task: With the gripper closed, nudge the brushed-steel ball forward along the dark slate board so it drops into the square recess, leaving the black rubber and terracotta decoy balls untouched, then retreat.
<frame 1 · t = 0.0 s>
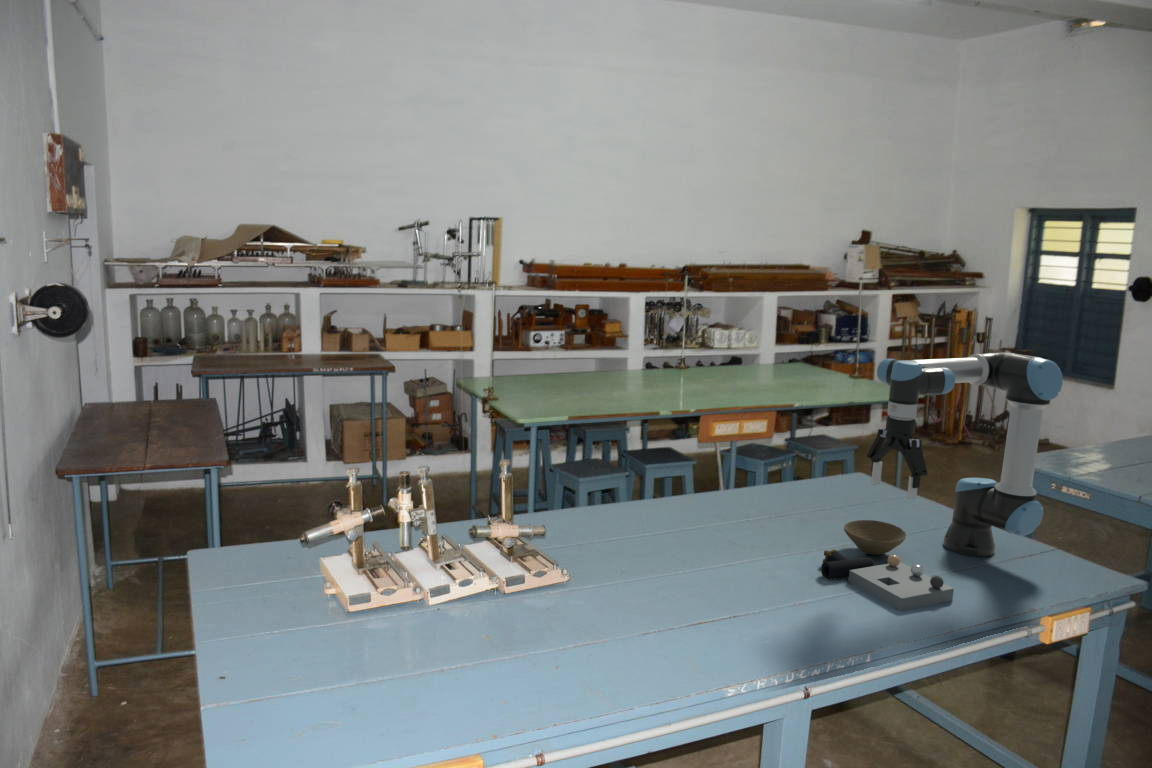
hand: (893, 491, 240), 28 cm above the table, fingers open, 13 cm apart
steel ball: (916, 576, 243), point 3 cm above the table, touching slate board
pipe connector: (839, 572, 254), on the table
slate board: (899, 590, 242), on the table
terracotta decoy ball: (893, 566, 250), point 3 cm above the table, touching slate board
bowl: (872, 553, 270), on the table
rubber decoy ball: (936, 587, 236), point 3 cm above the table, touching slate board
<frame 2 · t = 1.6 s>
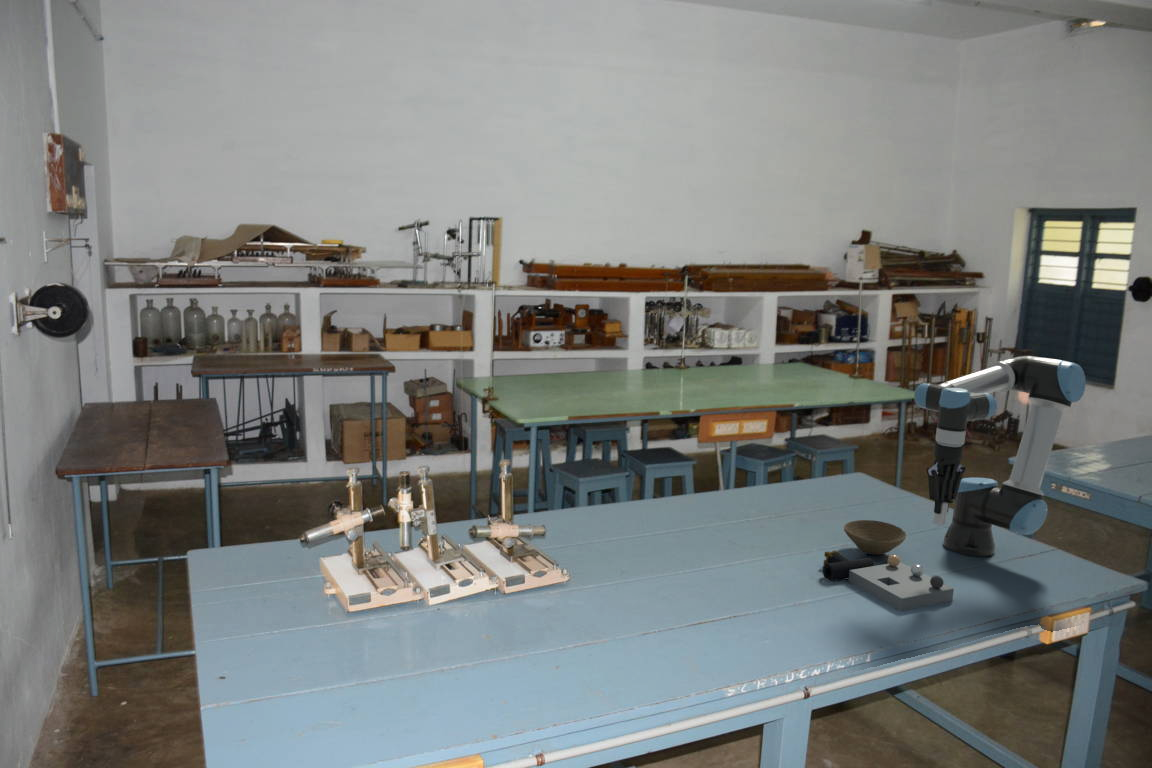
hand: (939, 523, 243), 18 cm above the table, fingers closed
nothing on the table moved.
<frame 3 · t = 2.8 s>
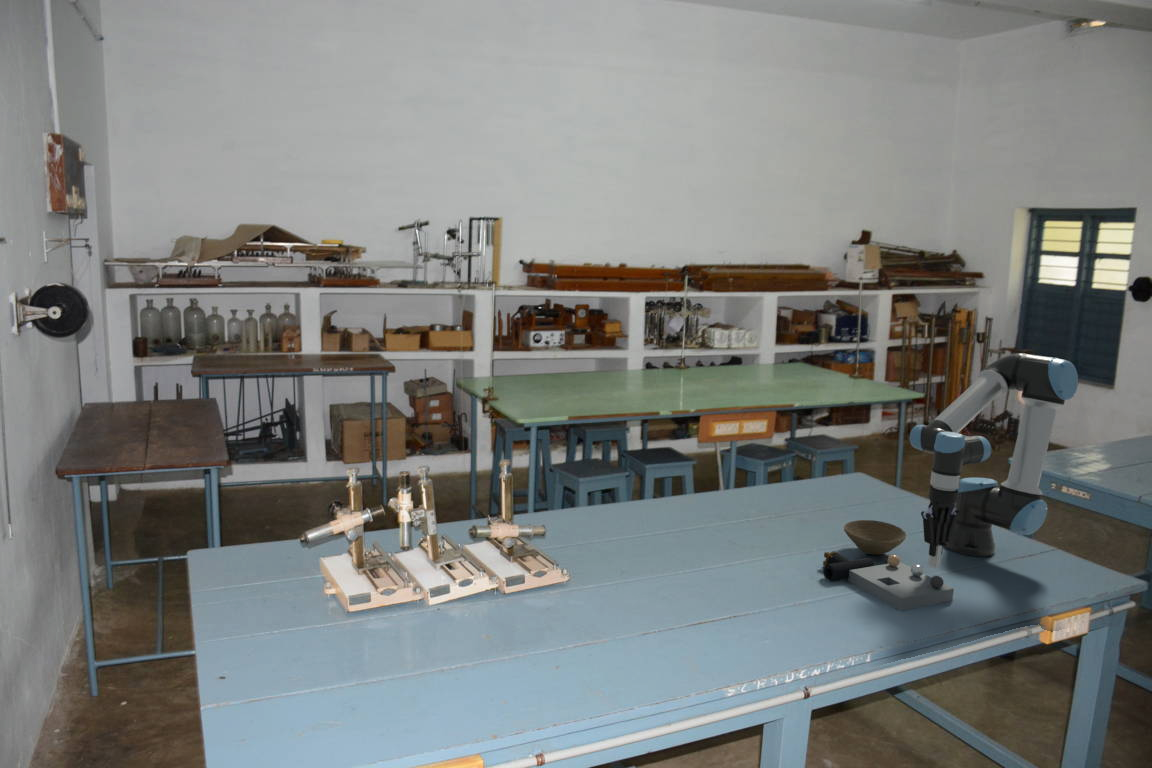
hand: (933, 566, 246), 6 cm above the table, fingers closed
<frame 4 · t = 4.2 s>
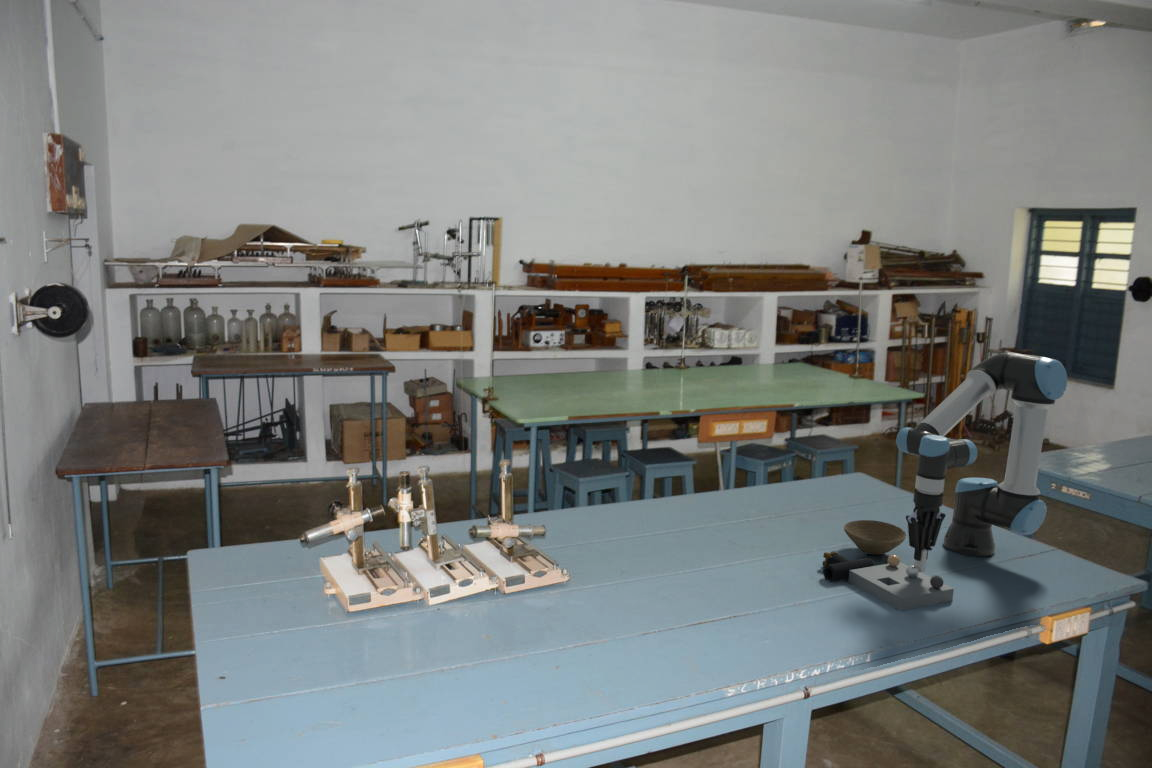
hand: (919, 570, 243), 5 cm above the table, fingers closed
steel ball: (915, 573, 243), point 4 cm above the table, tilted 58°, touching slate board
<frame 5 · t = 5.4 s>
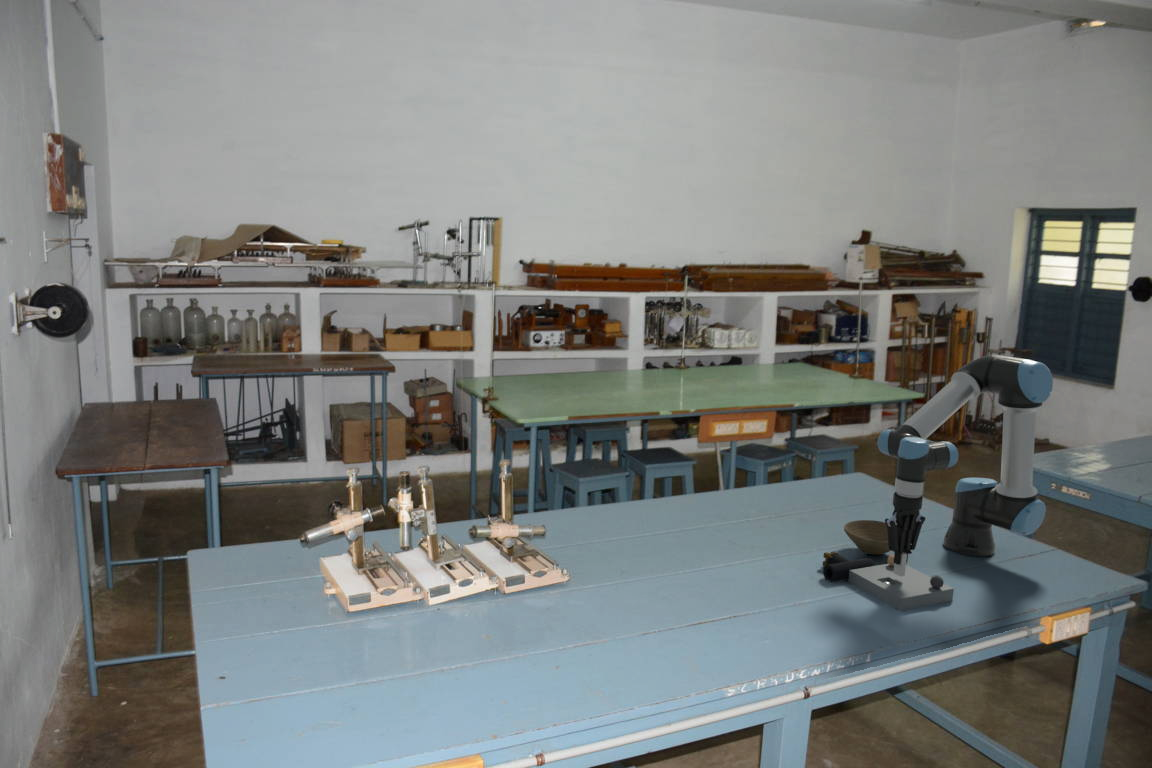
hand: (898, 574, 240), 5 cm above the table, fingers closed
steel ball: (890, 588, 240), point 1 cm above the table, tilted 74°
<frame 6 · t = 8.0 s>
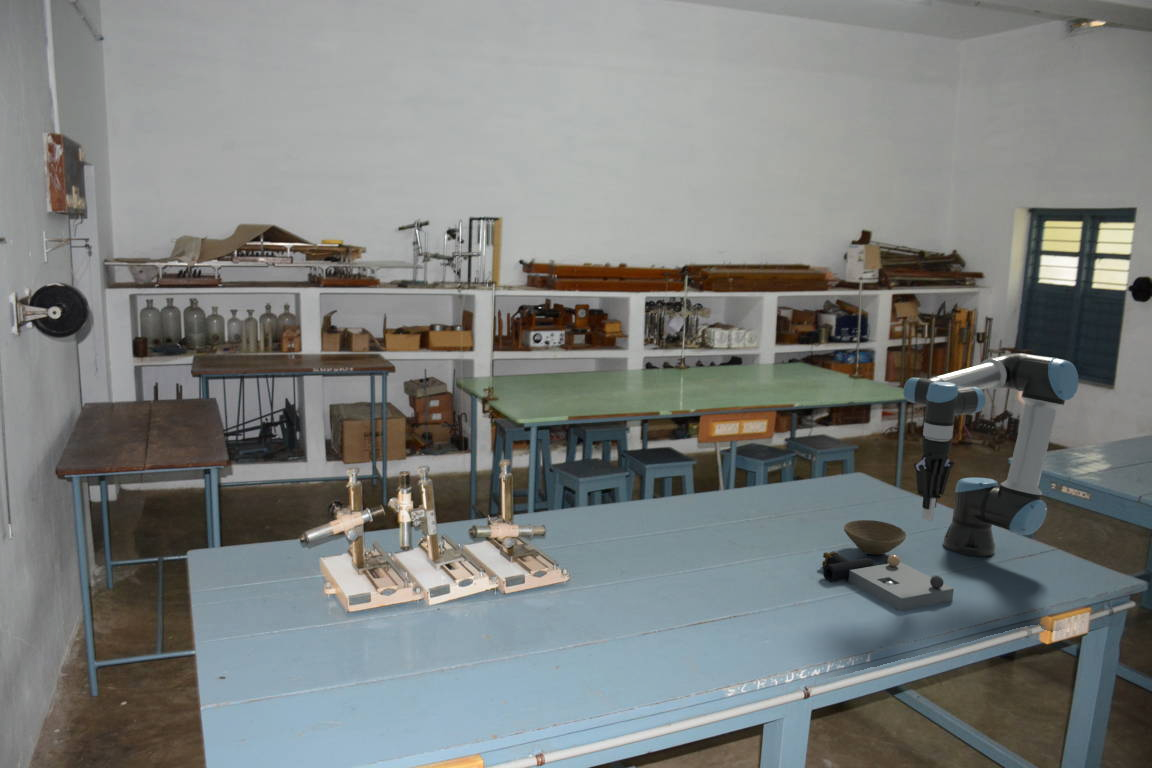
hand: (927, 519, 241), 20 cm above the table, fingers closed
steel ball: (891, 591, 240), resting in slate board, tilted 38°
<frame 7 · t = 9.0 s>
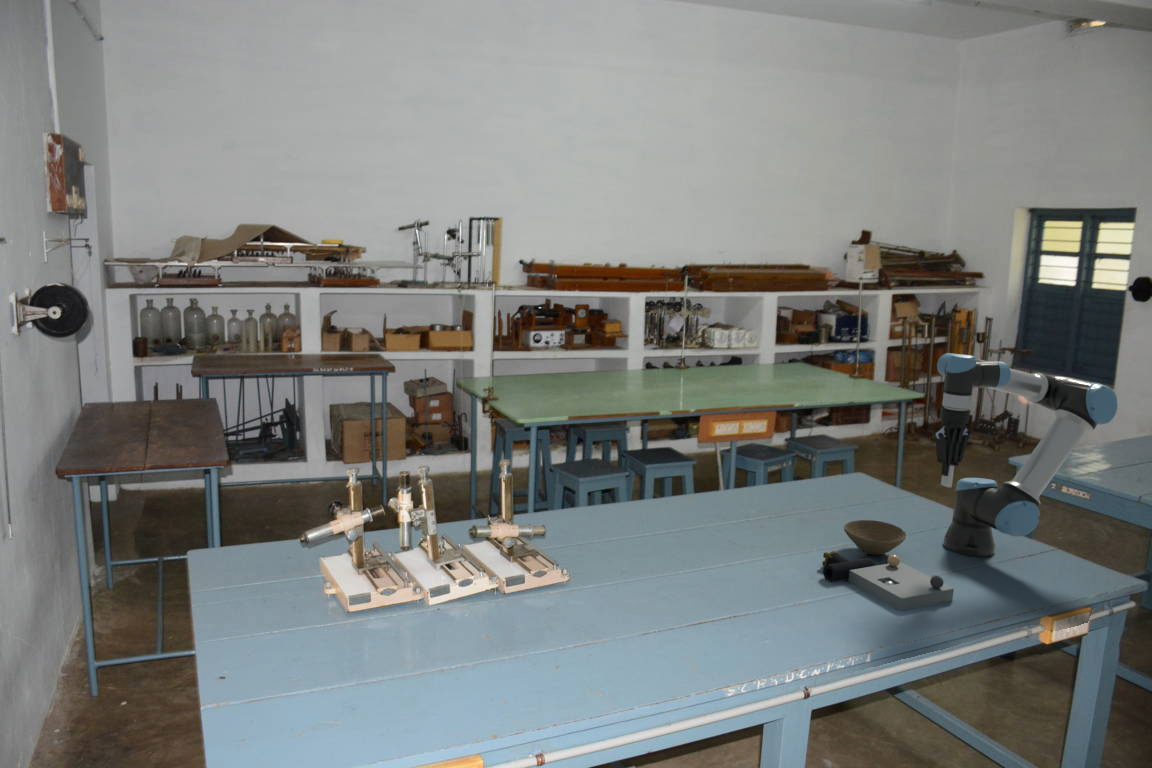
hand: (946, 485, 253), 26 cm above the table, fingers closed
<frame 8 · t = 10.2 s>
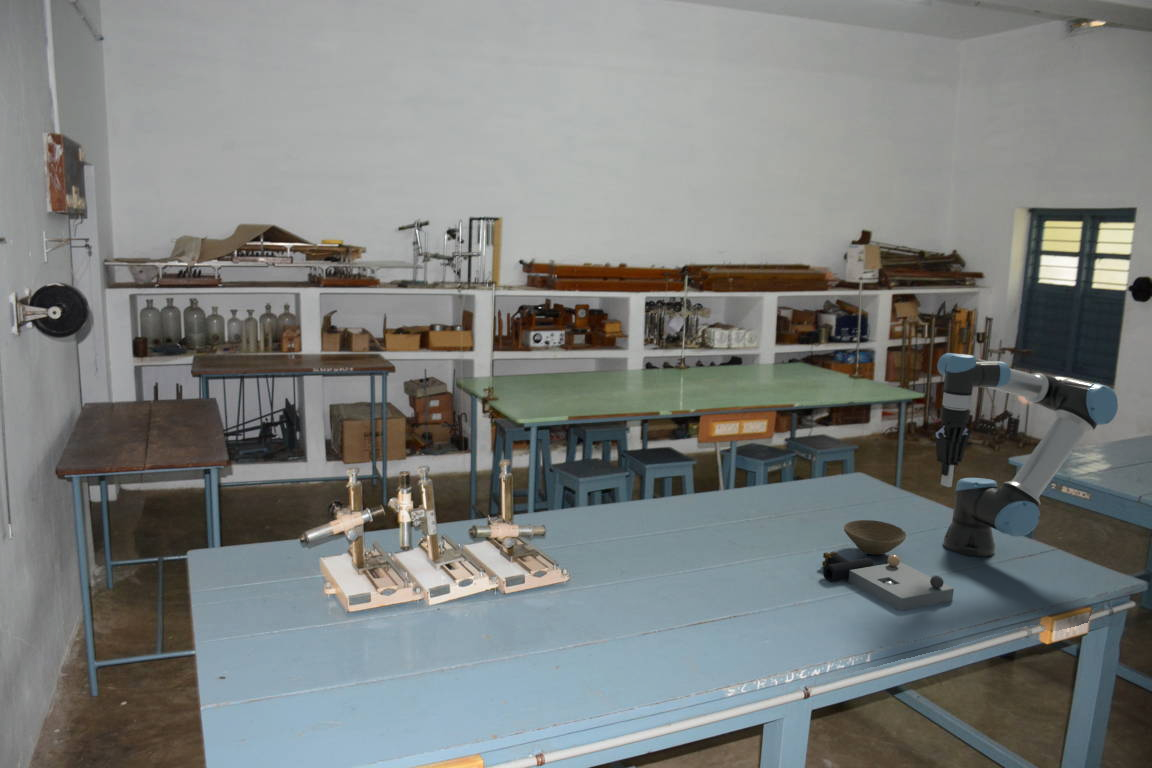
hand: (946, 485, 253), 26 cm above the table, fingers closed
at the end: steel ball 1.5 cm from the target spot on the slate board, point 0.5 cm above the slate board's base; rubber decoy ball moved 0.1 cm from its start; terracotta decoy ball moved 0.1 cm from its start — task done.
